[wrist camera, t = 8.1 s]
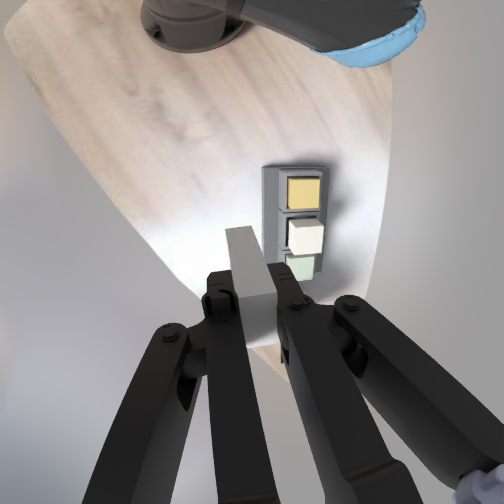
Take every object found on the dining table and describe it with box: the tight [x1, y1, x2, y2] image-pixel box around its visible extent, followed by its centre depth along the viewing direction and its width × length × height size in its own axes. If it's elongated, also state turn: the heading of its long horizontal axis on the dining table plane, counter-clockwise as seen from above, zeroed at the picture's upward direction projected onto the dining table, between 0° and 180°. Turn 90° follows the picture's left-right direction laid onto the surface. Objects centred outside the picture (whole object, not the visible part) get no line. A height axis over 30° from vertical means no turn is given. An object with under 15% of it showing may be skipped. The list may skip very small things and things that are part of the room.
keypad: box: [262, 167, 329, 281], centre depth 41 cm, size 18×10×4 cm, turn 1°
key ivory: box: [288, 219, 324, 255], centre depth 38 cm, size 4×4×3 cm
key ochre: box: [287, 176, 320, 209], centre depth 37 cm, size 4×4×3 cm
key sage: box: [285, 253, 314, 281], centre depth 42 cm, size 4×4×3 cm
